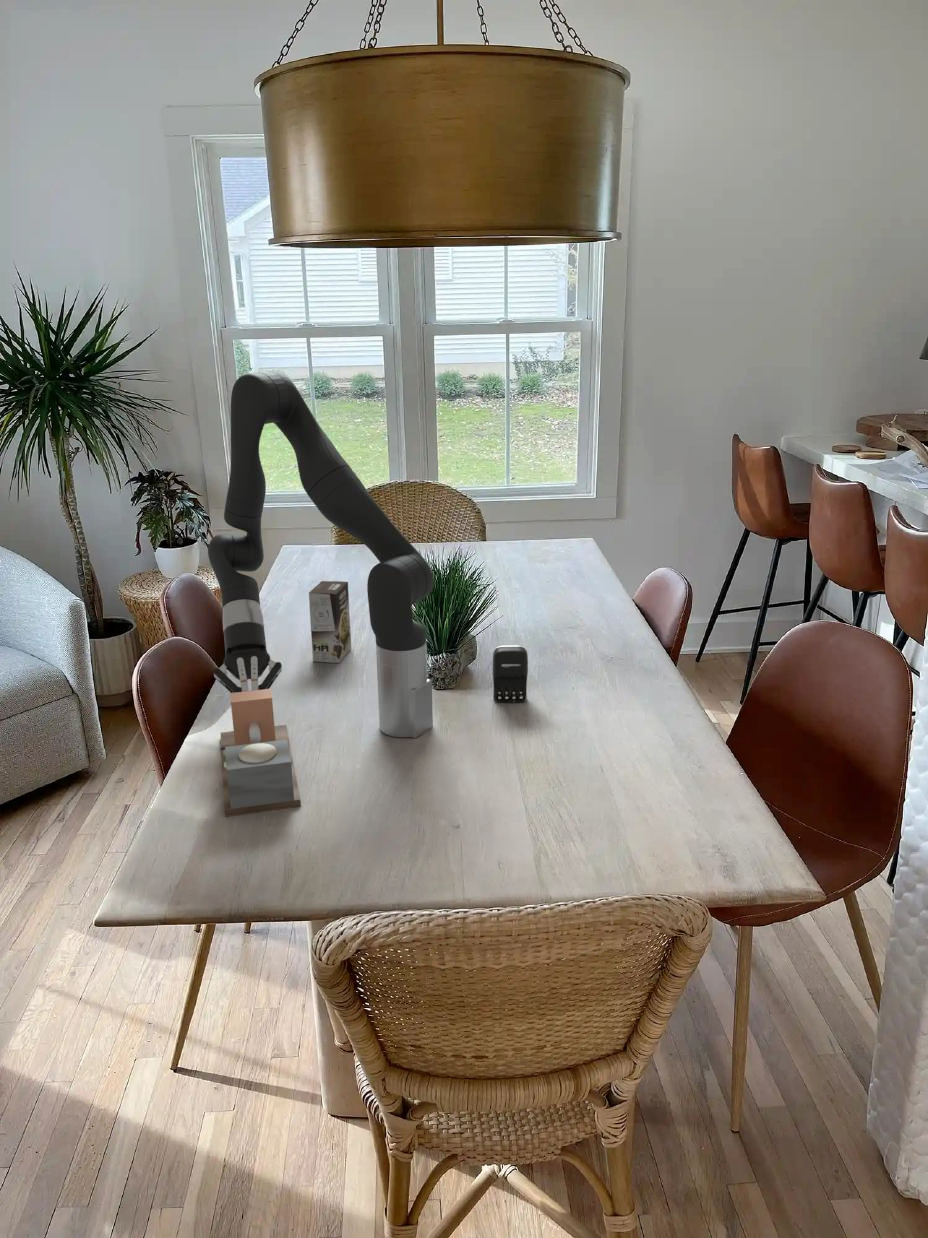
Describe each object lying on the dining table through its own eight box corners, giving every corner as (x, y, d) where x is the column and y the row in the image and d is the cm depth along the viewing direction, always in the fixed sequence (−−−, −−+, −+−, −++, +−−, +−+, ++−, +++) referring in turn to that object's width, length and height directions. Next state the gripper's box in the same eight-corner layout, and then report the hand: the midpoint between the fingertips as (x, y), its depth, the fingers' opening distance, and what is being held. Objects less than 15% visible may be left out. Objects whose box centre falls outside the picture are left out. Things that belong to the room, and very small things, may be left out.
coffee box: (340, 663, 213) (335, 594, 208) (312, 661, 214) (307, 592, 209) (352, 648, 222) (349, 580, 216) (325, 646, 223) (321, 579, 217)
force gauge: (221, 738, 180) (216, 696, 177) (286, 730, 183) (283, 688, 180) (224, 816, 155) (219, 768, 152) (301, 806, 158) (297, 758, 155)
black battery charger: (492, 705, 193) (492, 651, 189) (492, 697, 196) (492, 644, 192) (528, 705, 193) (529, 651, 189) (527, 697, 196) (527, 644, 192)
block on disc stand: (220, 745, 174) (214, 694, 171) (274, 739, 177) (270, 688, 173) (221, 769, 166) (215, 716, 163) (278, 762, 168) (274, 709, 165)
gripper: (206, 623, 179) (213, 712, 172) (279, 616, 182) (289, 703, 175) (209, 640, 186) (216, 726, 179) (279, 633, 189) (289, 717, 182)
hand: (252, 714), depth 177 cm, fingers closed
